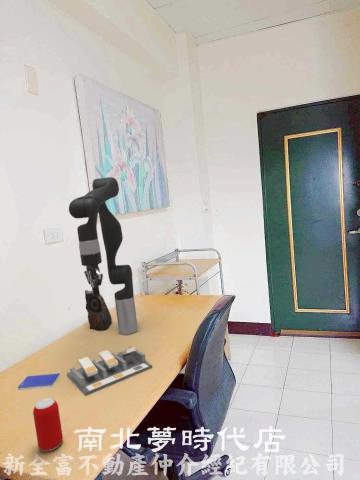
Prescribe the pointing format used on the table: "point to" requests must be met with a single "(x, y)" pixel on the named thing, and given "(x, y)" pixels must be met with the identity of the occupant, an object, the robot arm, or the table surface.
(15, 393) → the table surface
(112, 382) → the switch unit
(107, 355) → the rocker middle
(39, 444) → the beverage can
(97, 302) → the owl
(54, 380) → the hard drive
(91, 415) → the table surface
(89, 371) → the rocker
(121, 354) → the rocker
